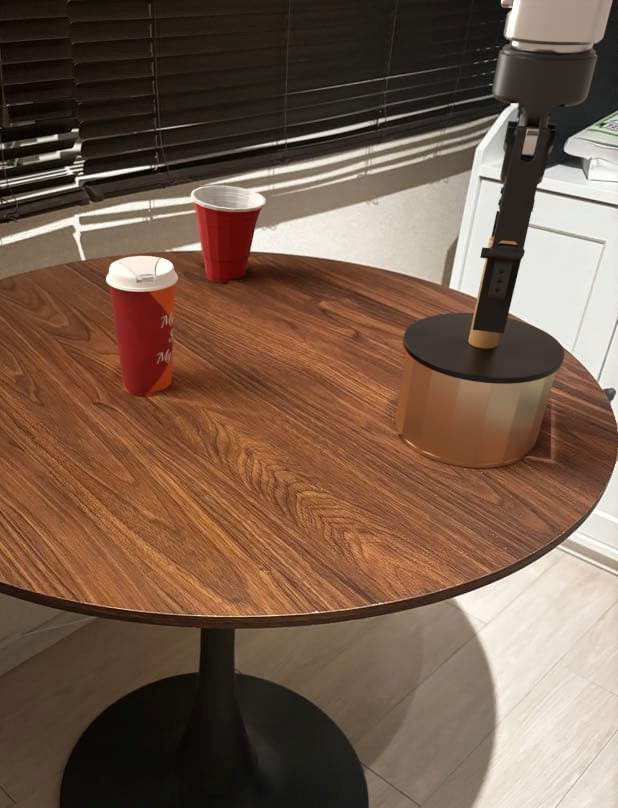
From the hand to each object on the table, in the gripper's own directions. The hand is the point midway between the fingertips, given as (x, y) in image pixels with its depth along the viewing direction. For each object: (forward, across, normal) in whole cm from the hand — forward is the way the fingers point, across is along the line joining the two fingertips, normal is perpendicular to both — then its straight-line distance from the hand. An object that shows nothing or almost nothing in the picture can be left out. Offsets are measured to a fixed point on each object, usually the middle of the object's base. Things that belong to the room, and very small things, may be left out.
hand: (492, 303), depth 78 cm
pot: (+14, 0, 0) cm, 14 cm away
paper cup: (+14, +1, -36) cm, 39 cm away
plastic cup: (+14, -36, -38) cm, 54 cm away
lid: (+5, 0, 0) cm, 5 cm away
